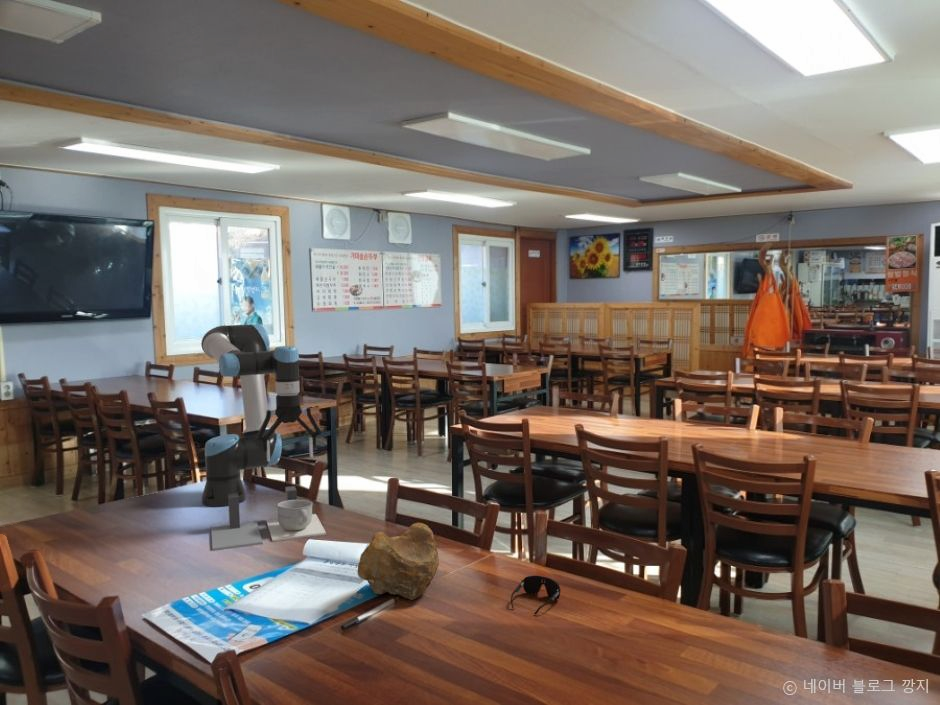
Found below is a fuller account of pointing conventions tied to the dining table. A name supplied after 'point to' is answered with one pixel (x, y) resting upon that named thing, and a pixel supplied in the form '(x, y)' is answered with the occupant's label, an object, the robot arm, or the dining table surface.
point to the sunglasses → (539, 587)
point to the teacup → (294, 514)
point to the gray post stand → (235, 529)
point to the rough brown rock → (400, 562)
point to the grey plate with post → (283, 534)
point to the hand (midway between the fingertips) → (290, 458)
